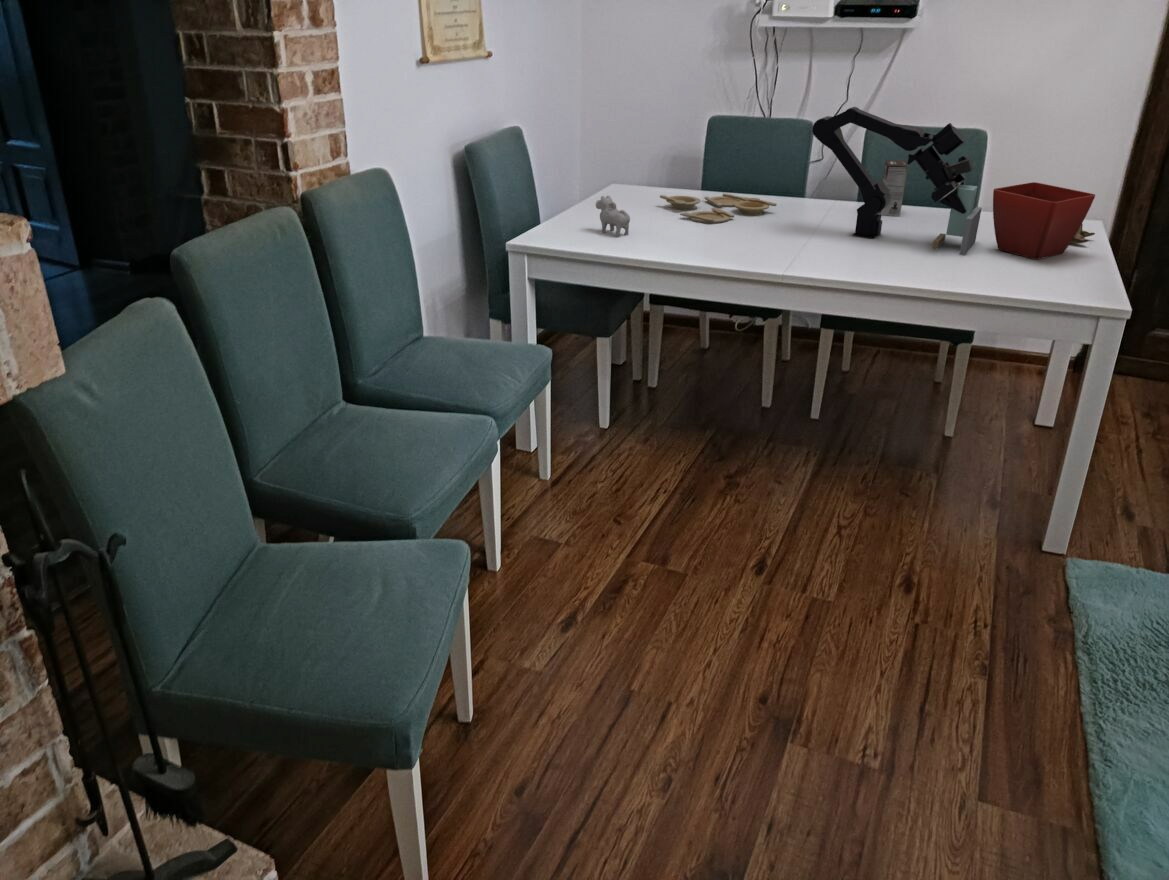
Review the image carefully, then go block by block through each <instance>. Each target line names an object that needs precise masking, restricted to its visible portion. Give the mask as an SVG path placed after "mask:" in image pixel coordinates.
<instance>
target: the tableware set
mask: <svg viewBox="0 0 1169 880" xmlns="http://www.w3.org/2000/svg"><path fill="white" fill-rule="evenodd" d="M659 198H660V199H663V200H665V201H666V202H667V203H669V204H671V207H672V208H673V210H677V211H686V212H681V213H679V215H680V216H683V217H686V218H689V220H692V221H694V222H698V223H706V224H721V223H726V222H729V221H730V220H731V218H735V214H733V213H730V212H727V211H725V210H723V209H720V208H721V207H730V208H731V207H733V208H735V209H738V210H739V213H740V214H743V215H747V216H758V215H761V214H762V213H763V212H764V210H768V209H769V208H770V206H771V207H776V206H777V203H776V202H772V201H767V200H762V199H761V198H759V197H745V196H744V197H743V196H740V195H739V196H738V195H734V194H730V193H722V195H721V196H719V195H718V196H711V197H709V196H704V198H703V199H705V200H706V201H707V203H708V204H711V205H714V206H716V207H712V208H711V209H710V211H708V210H703V211H702V210H701V211H694V212H687V211H689V210H693V209H694V207H695V206H696V205H698V204H700V203H701V201H702V200H701V199H700V198H698V197H695V196H689V195H673V196H667V195H664V194H661V195H659Z"/></svg>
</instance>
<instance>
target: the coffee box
mask: <svg viewBox="0 0 1169 880" xmlns="http://www.w3.org/2000/svg"><path fill="white" fill-rule="evenodd" d="M908 167H909V166H908V164H907V160H894V159H893V160H890V159H889V160H885V163H884V170H883V175H882V180H883V182H884V183H885V185H886V187H887V188H888V189H890V191H889V193H890V195H891V200H890V203H889V204H888V205H887V206H886V207H885V208H884V209H883V210H882V211H881V212H880V213H879V215H881V217H882V216H883V217H884V216H885V217H901V212H902V204H903V199H904V193H905V187H906V181H907V175H908Z"/></svg>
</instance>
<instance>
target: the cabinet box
mask: <svg viewBox="0 0 1169 880" xmlns="http://www.w3.org/2000/svg"><path fill="white" fill-rule="evenodd" d="M957 187H959V191H958V196H959V198H960V200H961V201H962V203H963V205H964V207H965V209H966V212H965V213H964V214H962V213H960V212H958V211H956V210H954V209H952V208H950V212H949V217H948V223H947V228H946V232H945V234H946V236H953V237H962V238H963V233H964V227H965V222H966V218H967V217H968V216H969V215H970V214H971V212H972V211H973V210H974V207H975V206H974V205H975V201H976V196H977V192H978V186H977V185H976V186H975V185H966V184H965V185H958V186H957ZM957 187H956V188H957ZM956 188H955V189H956Z"/></svg>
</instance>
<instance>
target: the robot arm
mask: <svg viewBox="0 0 1169 880" xmlns="http://www.w3.org/2000/svg"><path fill="white" fill-rule="evenodd" d="M849 124H853V125H855V126H858V127H859V128H863V129H866V130H868V131H871V132H873V133H876V134H877V135H881V136H883V137H885V138H887V139H889V140H890V141H891V142H893V144H895V145H896V146H898V147H900V148H901V149H903V150H904V151H906V152H907V151H908V152H910V153H909V154H908V158H907V161H906V163H907V165H910V164H912V163H913V162H916V164H917V165H918V167H919V169H921V171H922V172H923V173H924V174H925V179H926V180H927V181H928V180H929V181H930V182H931V184H932V185H933V186H934V188H933V190H934V191H932V192H931V196H930V198H931V199H932V200H933V202H934V203H937V202H938V203H939V204H943V205H945V206H946V207H949V208H950V209H951V208H952V209H954V210H956V211H958V212H960V213H962V214H964V213H965V212H966V209H965V207H964V205H963V203H962V201H961V200H960V198H959V196H958V191H959V187H957V186H958V185H966V184H965V183H966V178H967V176H966V174H967V173H970V172H972V171H973V170H974V165H973V160H972V158H971V157H967V156H966V155H962V156H959V158H958V159H957V160H958V161H957V162H955V163H950V162H949V161H944V159H943V158H942V157H941V156H943V155H945V156H949V155H950V154H951V153H953V152H954V151H956V149H958V148H959V147H960V146H962V145H964V143H966V139H965V136H964V134H962V132H961V131H960V130H959V129H957V128H956V127H955V126H954V125H953V124H952V123H951V122H949V123H948V124H946V125H945V126H944V127H943V128H942V129H941V130H940V131H938V132H937V133H936V134H933V133H928V132H925V131H924V129H923V128H921V127H918V126H913V125H908V124H901V123H895V122H893V121H890V120H887V119H885V118H882V117H881V116H877V115H875V114H873V113H870V112H867V111H864V110H862V109H860V108H859V107H857V106H853V107H849V108H847V109H846V110H845V111H843V112H840V113H839V114H836V115H833V116H830V115H828V116H824V117H821V118H819V119H817V120H816V121H814V123H813V126H812V128H811V129H812V130H811V131H812V134H813V136H814V137H815V138H816V139H817V140H818V141H819V142H820V143H821V144H822V145H824V146H825V147H827V148H828V149H829V150H831V152H832V153H833V154H834V155H835V157H836V158H837V160H838V161H839V163H841V165H842V166H843V168H844V169H845V171H846V172H847V174H848V175H849V176H850V178H851V179H852V180H853V182H854V183H855V184H856V185H857V187H858V189H859V192H860V195H861V198H862V201H863V204H861V206H859V207H858V208H857V209H856V213H857V216H856V221H855V224H856V225H855V228H854V229H855V230H854V232H853V233H852V236H854V237H862V238H867V239H874V238H876V237H879V236H881V235H882V233H881V232H882V227H883V226H882V225H883V220H882V216H881V215H880V212H881V211H882V210H883V209H884V208H885V207H886V206H887V205H888V204H889V203H890V200H891V195H890V193H889V191H890V189H888V188H887V187H886V185H885V183H884V182H883V179H881V180H879V181H876V180H875V179H873V177H872V176H871V175H870V173H869V172H868V171H867V170H866V168H865V166H864V165H863V164H862V163H861V161H860V160H859V158H858V157H857V156H856V154H855V153H854V151H853V150H852V149H851V147H850V146H849V145H848V143H847V142H846V141H845V138H844V134H843V132H842V129H841V127H844V126H846V125H849ZM930 143H932V144H931V145H929V144H930ZM927 145H929V146H928V147H927V148H925V147H926V146H927ZM924 146H925V147H924ZM918 148H920V149H918ZM917 149H918V150H917ZM915 150H917V151H916V152H914V153H912V151H915ZM956 187H957V188H956ZM955 188H956V189H955Z"/></svg>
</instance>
